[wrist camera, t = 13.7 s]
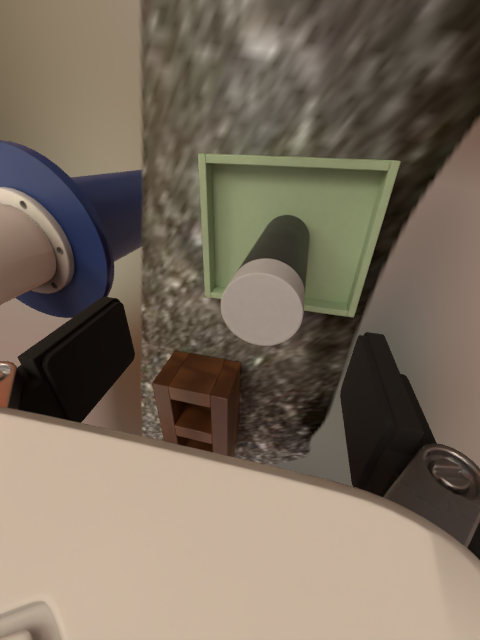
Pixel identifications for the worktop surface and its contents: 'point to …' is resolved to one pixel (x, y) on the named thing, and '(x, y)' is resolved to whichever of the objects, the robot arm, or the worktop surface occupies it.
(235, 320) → the tool handle
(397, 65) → the worktop surface
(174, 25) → the worktop surface
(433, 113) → the worktop surface
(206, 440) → the holder
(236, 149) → the worktop surface
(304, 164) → the tray
